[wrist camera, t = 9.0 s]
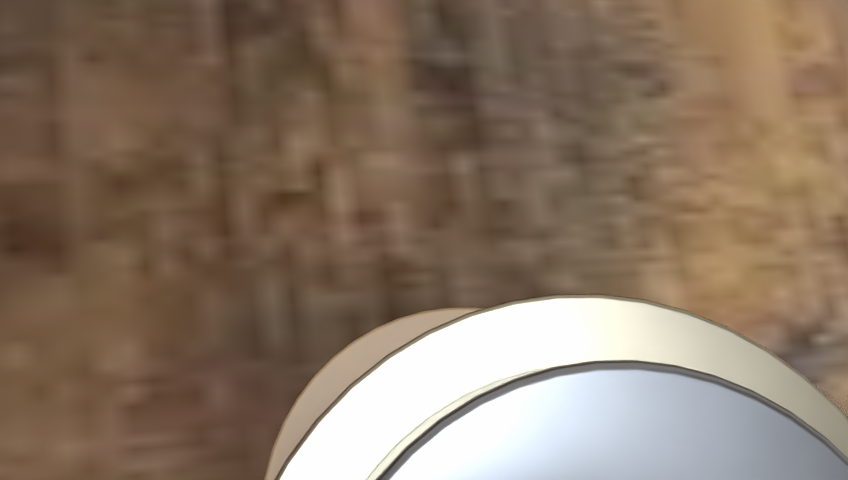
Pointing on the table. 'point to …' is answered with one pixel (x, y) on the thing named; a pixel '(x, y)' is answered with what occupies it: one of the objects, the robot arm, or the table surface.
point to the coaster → (349, 375)
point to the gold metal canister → (577, 402)
